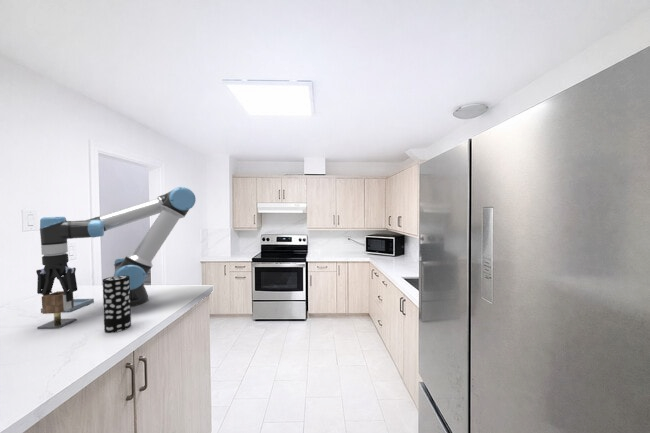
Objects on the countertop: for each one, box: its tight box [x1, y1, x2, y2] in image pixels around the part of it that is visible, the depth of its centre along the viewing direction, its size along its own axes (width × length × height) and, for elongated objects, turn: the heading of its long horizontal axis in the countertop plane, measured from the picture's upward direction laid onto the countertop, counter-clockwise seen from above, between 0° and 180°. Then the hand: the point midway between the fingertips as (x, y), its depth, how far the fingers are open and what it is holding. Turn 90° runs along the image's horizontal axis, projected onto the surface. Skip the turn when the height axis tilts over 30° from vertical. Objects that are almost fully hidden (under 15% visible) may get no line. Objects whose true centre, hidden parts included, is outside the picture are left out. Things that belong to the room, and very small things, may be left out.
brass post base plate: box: [37, 312, 77, 330], centre depth 108 cm, size 8×8×8 cm
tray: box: [40, 298, 95, 314], centre depth 127 cm, size 13×13×2 cm
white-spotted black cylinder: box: [102, 275, 132, 334], centre depth 104 cm, size 8×8×20 cm
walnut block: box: [41, 290, 74, 315], centre depth 108 cm, size 6×6×7 cm
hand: (58, 309), depth 108 cm, fingers closed on walnut block, 6 cm apart
